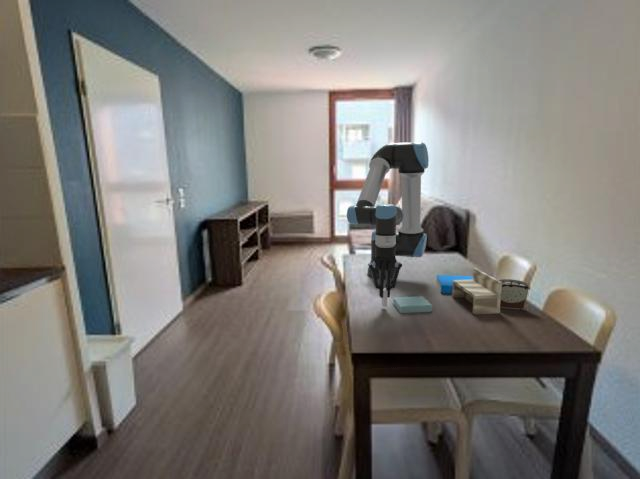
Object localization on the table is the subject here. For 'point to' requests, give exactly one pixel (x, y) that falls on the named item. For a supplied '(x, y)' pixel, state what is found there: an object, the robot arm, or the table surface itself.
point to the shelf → (479, 292)
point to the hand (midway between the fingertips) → (384, 305)
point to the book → (449, 282)
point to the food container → (513, 294)
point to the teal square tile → (412, 304)
